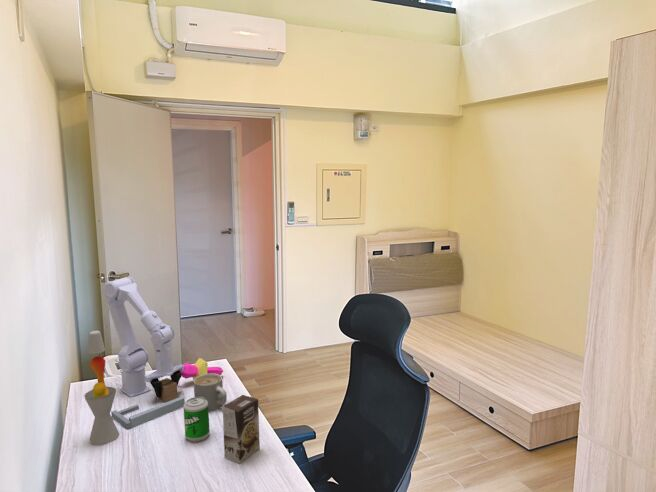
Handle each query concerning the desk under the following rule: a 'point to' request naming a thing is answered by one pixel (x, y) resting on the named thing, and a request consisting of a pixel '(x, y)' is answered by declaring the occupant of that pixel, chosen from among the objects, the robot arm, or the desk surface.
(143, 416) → the grey j-shaped hook
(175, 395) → the cardboard box
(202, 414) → the soda can
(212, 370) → the toy
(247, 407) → the coffee box
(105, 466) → the desk surface
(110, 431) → the lava lamp
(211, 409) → the coffee mug
